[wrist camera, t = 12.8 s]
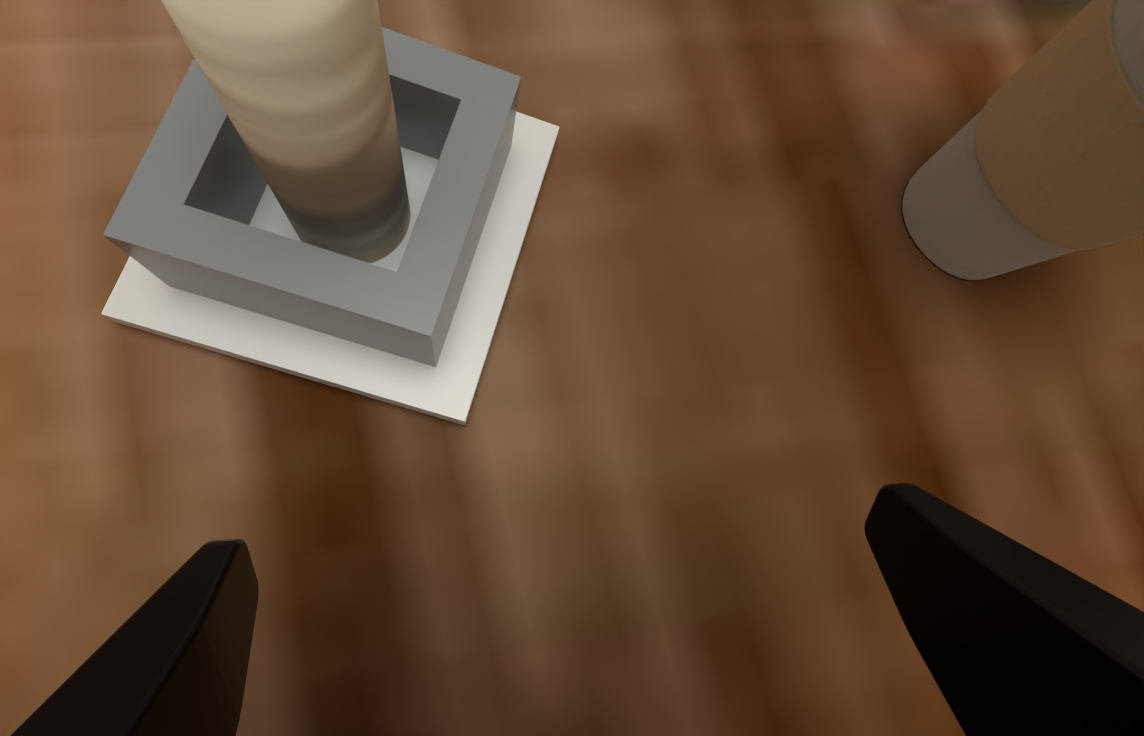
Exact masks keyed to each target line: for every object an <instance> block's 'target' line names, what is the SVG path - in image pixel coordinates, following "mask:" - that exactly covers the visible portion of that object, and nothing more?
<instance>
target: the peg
mask: <svg viewBox="0 0 1144 736" xmlns="http://www.w3.org/2000/svg"><path fill="white" fill-rule="evenodd" d="M161 1H162V3H163V4H164V6H165V8H166V9H167V11H168V13H169V15H170V16H171V18H172V20H173V21H174V23H175V25H176V27H177V28H178V30H179V32H180V34H181V35H182V37H183V39H184V40H185V42H186V44H187V46H188V47H189V49H190V51H191V52H192V54H193V56H194V58H195V59H196V61H197V63H198V65H199V66H200V68H201V70H202V71H203V73H204V75H205V77H206V78H207V80H208V82H209V83H210V85H211V87H212V89H213V90H214V92H215V94H216V96H217V97H218V99H219V101H220V102H221V104H222V106H223V108H224V109H225V111H226V113H227V114H228V116H229V118H230V120H231V121H232V123H233V125H234V127H235V128H236V130H237V132H238V133H239V135H240V137H241V139H242V140H243V142H244V144H245V145H246V147H247V149H248V151H249V152H250V154H251V156H252V158H253V159H254V161H255V163H256V164H257V166H258V168H259V170H260V171H261V173H262V175H263V176H264V178H265V180H266V182H267V183H268V185H269V187H270V189H271V190H272V192H273V194H274V195H275V197H276V199H277V201H278V202H279V204H280V206H281V207H282V209H283V211H284V213H285V214H286V216H287V218H288V219H289V221H290V223H291V225H292V226H293V228H294V230H295V232H296V233H297V235H298V237H299V238H300V240H301V241H302V242H303V243H307V244H310V245H313V246H316V247H319V248H322V249H325V250H329V251H332V252H335V253H338V254H341V255H344V256H348V257H351V258H354V259H357V260H360V261H363V262H366V263H373V262H375V261H378V260H380V259H382V258H384V257H386V256H387V255H389V254H390V253H391V252H393V251H394V250H395V249H396V248H397V247H398V246H399V244H400V243H401V242H402V240H403V239H404V237H405V235H406V233H407V231H408V228H409V224H410V204H409V198H408V192H407V185H406V179H405V173H404V166H403V160H402V153H401V147H400V141H399V134H398V128H397V122H396V115H395V109H394V103H393V96H392V90H391V84H390V77H389V71H388V65H387V58H386V52H385V46H384V39H383V33H382V27H381V20H380V14H379V8H378V1H377V0H161Z"/></svg>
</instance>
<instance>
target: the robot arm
mask: <svg viewBox="0 0 1144 736" xmlns="http://www.w3.org/2000/svg"><path fill="white" fill-rule="evenodd" d="M865 535H866V538H867V541H868V543H869V546H870V548H871V550H872V552H873V555H874V557H875V559H876V561H877V564H878V566H879V568H880V571H881V573H882V575H883V577H884V580H885V582H886V584H887V586H888V589H889V591H890V593H891V595H892V598H893V600H894V602H895V604H896V607H897V609H898V611H899V613H900V616H901V618H902V620H903V622H904V624H905V626H906V628H907V630H908V632H909V634H910V636H911V638H912V640H913V642H914V644H915V646H916V647H917V649H918V651H919V653H920V655H921V656H922V658H923V660H924V662H925V664H926V665H927V667H928V669H929V671H930V672H931V674H932V676H933V678H934V680H935V681H936V683H937V685H938V687H939V689H940V690H941V692H942V694H943V696H944V697H945V699H946V701H947V703H948V705H949V706H950V708H951V710H952V712H953V714H954V715H955V717H956V719H957V721H958V722H959V724H960V726H961V728H962V730H963V731H964V733H965V735H966V736H1144V612H1143V611H1141V610H1139V609H1137V608H1135V607H1134V606H1132V605H1130V604H1128V603H1126V602H1125V601H1123V600H1121V599H1119V598H1117V597H1116V596H1114V595H1112V594H1110V593H1108V592H1107V591H1105V590H1103V589H1101V588H1099V587H1098V586H1096V585H1094V584H1092V583H1090V582H1088V581H1087V580H1085V579H1083V578H1081V577H1079V576H1078V575H1076V574H1074V573H1072V572H1070V571H1069V570H1067V569H1065V568H1063V567H1061V566H1060V565H1058V564H1056V563H1054V562H1052V561H1051V560H1049V559H1047V558H1045V557H1043V556H1042V555H1040V554H1038V553H1036V552H1034V551H1033V550H1031V549H1029V548H1027V547H1025V546H1024V545H1022V544H1020V543H1018V542H1016V541H1015V540H1013V539H1011V538H1009V537H1007V536H1006V535H1004V534H1002V533H1000V532H998V531H997V530H995V529H993V528H991V527H989V526H988V525H986V524H984V523H982V522H980V521H979V520H977V519H975V518H973V517H971V516H970V515H968V514H966V513H964V512H962V511H961V510H959V509H957V508H955V507H953V506H952V505H950V504H948V503H946V502H944V501H943V500H941V499H939V498H937V497H935V496H934V495H932V494H930V493H928V492H926V491H925V490H923V489H921V488H919V487H917V486H915V485H913V484H910V483H899V484H887V485H884V486H883V487H882V488H881V489H880V490H879V492H878V494H877V496H876V498H875V501H874V503H873V505H872V507H871V510H870V512H869V514H868V517H867V519H866V522H865ZM257 603H258V581H257V577H256V574H255V571H254V567H253V564H252V561H251V557H250V554H249V551H248V547H247V545H246V543H245V542H244V541H243V540H242V539H227V540H215V541H210V542H207V543H206V544H204V545H203V546H202V547H201V548H200V549H199V550H198V551H197V552H196V553H195V554H194V555H193V556H192V557H190V558H189V559H188V560H187V561H186V562H185V563H184V564H183V565H182V566H181V567H180V568H179V569H178V570H177V571H176V572H175V573H174V574H173V575H172V576H171V577H170V578H169V579H168V580H167V581H166V582H165V583H164V584H163V585H162V586H161V587H160V588H159V589H158V590H157V591H156V592H155V593H154V594H153V595H152V596H151V597H150V598H149V599H148V600H147V601H146V602H145V603H144V604H143V605H142V606H141V607H140V608H139V609H138V610H137V611H136V612H135V613H134V614H133V615H132V616H131V617H130V618H129V619H128V620H127V621H126V622H125V623H124V624H123V625H122V626H121V627H120V628H119V629H118V630H117V631H116V632H115V633H114V634H113V635H112V636H111V637H110V638H109V639H108V640H107V641H106V642H105V643H104V644H103V645H102V646H101V647H100V648H98V649H97V650H96V651H95V652H94V653H93V654H92V655H91V656H90V657H89V658H88V659H87V660H86V661H85V662H84V663H83V664H82V665H81V666H80V667H79V668H78V669H77V670H76V671H75V672H74V673H73V674H72V675H71V676H70V677H69V678H68V679H67V680H66V681H65V682H64V683H63V684H62V685H61V686H60V687H59V688H58V689H57V690H56V691H55V692H54V693H53V694H52V695H51V696H50V697H49V698H48V699H47V700H46V701H45V702H44V703H43V704H42V705H41V706H40V707H39V708H38V709H37V710H36V711H35V712H34V713H33V714H32V715H31V716H30V717H29V718H28V719H27V720H26V721H25V722H24V723H23V724H22V725H21V726H20V727H19V728H18V729H17V730H16V731H15V732H14V733H13V734H12V735H11V736H236V731H237V727H238V723H239V719H240V713H241V707H242V701H243V695H244V688H245V682H246V675H247V669H248V662H249V655H250V649H251V642H252V636H253V629H254V622H255V616H256V609H257Z"/></svg>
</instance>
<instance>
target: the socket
mask: <svg viewBox="0 0 1144 736" xmlns="http://www.w3.org/2000/svg"><path fill="white" fill-rule="evenodd" d="M382 33H383V39H384V46H385V52H386V58H387V65H388V71H389V77H390V84H391V90H392V96H393V103H394V109H395V115H396V122H397V128H398V134H399V141H400V147H401V153H402V160H403V166H404V173H405V179H406V185H407V192H408V198H409V204H410V224H409V228H408V231H407V233H406V235H405V237H404V239H403V240H402V242H401V243H400V244H399V246H398V247H397V248H396V249H395V250H394V251H393V252H391V253H390V254H389V255H387V256H386V257H384V258H382V259H380V260H378V261H375V262H373V263H366V262H363V261H360V260H357V259H354V258H351V257H348V256H344V255H341V254H338V253H335V252H332V251H329V250H325V249H322V248H319V247H316V246H313V245H310V244H307V243H303V242H302V241H301V240H300V238H299V237H298V235H297V233H296V232H295V230H294V228H293V226H292V225H291V223H290V221H289V219H288V218H287V216H286V214H285V213H284V211H283V209H282V207H281V206H280V204H279V202H278V201H277V199H276V197H275V195H274V194H273V192H272V190H271V189H270V187H269V185H268V183H267V182H266V180H265V178H264V176H263V175H262V173H261V171H260V170H259V168H258V166H257V164H256V163H255V161H254V159H253V158H252V156H251V154H250V152H249V151H248V149H247V147H246V145H245V144H244V142H243V140H242V139H241V137H240V135H239V133H238V132H237V130H236V128H235V127H234V125H233V123H232V121H231V120H230V118H229V116H228V114H227V113H226V111H225V109H224V108H223V106H222V104H221V102H220V101H219V99H218V97H217V96H216V94H215V92H214V90H213V89H212V87H211V85H210V83H209V82H208V80H207V78H206V77H205V75H204V73H203V71H202V70H201V68H200V66H199V65H198V63H197V61H196V59H195V58H194V60H193V62H192V63H191V65H190V67H189V69H188V71H187V73H186V75H185V77H184V79H183V81H182V83H181V85H180V87H179V89H178V91H177V92H176V94H175V96H174V98H173V100H172V102H171V104H170V106H169V108H168V110H167V112H166V114H165V116H164V118H163V120H162V122H161V123H160V125H159V127H158V129H157V131H156V133H155V135H154V137H153V139H152V141H151V143H150V145H149V147H148V149H147V151H146V152H145V154H144V156H143V158H142V160H141V162H140V164H139V166H138V168H137V170H136V172H135V174H134V176H133V178H132V180H131V181H130V183H129V185H128V187H127V189H126V191H125V193H124V195H123V197H122V199H121V201H120V203H119V205H118V207H117V209H116V211H115V212H114V214H113V216H112V218H111V220H110V222H109V224H108V226H107V228H106V230H105V232H104V234H103V235H104V236H105V237H106V238H108V239H109V240H110V241H111V242H113V243H114V244H115V245H117V246H118V247H119V248H120V249H122V250H123V251H124V252H126V253H127V254H128V255H129V256H130V257H129V259H128V261H127V263H126V265H125V267H124V269H123V271H122V273H121V275H120V277H119V279H118V281H117V283H116V285H115V287H114V289H113V291H112V293H111V295H110V297H109V299H108V301H107V303H106V305H105V307H104V309H103V311H102V313H101V314H102V315H104V316H106V317H108V318H110V319H111V320H113V321H115V322H117V323H120V324H123V325H126V326H130V327H133V328H136V329H140V330H143V331H147V332H150V333H153V334H157V335H160V336H164V337H167V338H170V339H174V340H177V341H180V342H184V343H187V344H191V345H194V346H197V347H201V348H204V349H208V350H211V351H214V352H218V353H221V354H224V355H228V356H231V357H235V358H238V359H241V360H245V361H248V362H252V363H255V364H258V365H262V366H265V367H268V368H272V369H275V370H279V371H282V372H285V373H289V374H292V375H295V376H299V377H302V378H306V379H309V380H312V381H316V382H319V383H323V384H326V385H329V386H333V387H336V388H339V389H343V390H346V391H350V392H353V393H356V394H360V395H363V396H367V397H370V398H373V399H377V400H380V401H383V402H387V403H390V404H394V405H397V406H400V407H404V408H407V409H411V410H414V411H417V412H421V413H424V414H427V415H431V416H434V417H438V418H441V419H444V420H448V421H451V422H455V423H458V424H461V425H465V423H466V420H467V417H468V414H469V411H470V408H471V405H472V402H473V398H474V395H475V392H476V389H477V386H478V383H479V380H480V377H481V373H482V370H483V367H484V364H485V361H486V358H487V355H488V351H489V348H490V345H491V342H492V339H493V336H494V333H495V330H496V326H497V323H498V320H499V317H500V314H501V311H502V308H503V305H504V301H505V298H506V295H507V292H508V289H509V286H510V283H511V280H512V276H513V273H514V270H515V267H516V264H517V261H518V258H519V255H520V251H521V248H522V245H523V242H524V239H525V236H526V233H527V229H528V226H529V223H530V220H531V217H532V214H533V211H534V208H535V204H536V201H537V198H538V195H539V192H540V189H541V186H542V183H543V179H544V176H545V173H546V170H547V167H548V164H549V161H550V158H551V154H552V151H553V148H554V145H555V142H556V138H557V134H558V131H559V127H558V126H556V125H553V124H550V123H547V122H544V121H541V120H539V119H536V118H533V117H530V116H527V115H524V114H521V113H519V112H516V110H517V103H518V96H519V89H520V82H521V76H518V75H515V74H512V73H509V72H507V71H504V70H501V69H498V68H495V67H493V66H490V65H487V64H484V63H481V62H479V61H476V60H473V59H470V58H467V57H465V56H462V55H459V54H456V53H453V52H451V51H448V50H445V49H442V48H439V47H437V46H434V45H431V44H428V43H425V42H423V41H420V40H417V39H414V38H412V37H409V36H406V35H403V34H400V33H398V32H395V31H392V30H389V29H386V28H384V27H382Z"/></svg>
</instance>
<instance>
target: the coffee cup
mask: <svg viewBox="0 0 1144 736" xmlns="http://www.w3.org/2000/svg"><path fill="white" fill-rule="evenodd" d="M902 212H903V216H904V221H905V224H906V227H907V229H908V231H909V234H910V236H911V237H912V239H913V240H914V242H915V244H916V245H917V247H918V248H919V249H920V250H921V251H922V252H923V254H924V255H925V256H926V257H927V258H928V259H929V260H931V261H932V262H933V263H934V264H935V265H936V266H938V267H939V268H941V269H942V270H944V271H945V272H947V273H949V274H951V275H953V276H956V277H958V278H962V279H966V280H984V279H987V278H991V277H994V276H997V275H1000V274H1004V273H1007V272H1010V271H1013V270H1017V269H1020V268H1023V267H1026V266H1030V265H1033V264H1036V263H1039V262H1043V261H1046V260H1049V259H1052V258H1056V257H1059V256H1062V255H1065V254H1069V253H1072V252H1075V251H1084V250H1095V249H1098V248H1101V247H1105V246H1108V245H1111V244H1115V243H1118V242H1121V241H1124V240H1128V239H1131V238H1134V237H1137V236H1141V235H1144V0H1092V1H1091V2H1090V3H1089V4H1087V5H1086V6H1085V7H1084V8H1083V9H1082V10H1081V11H1080V12H1079V13H1078V14H1077V15H1076V16H1075V17H1074V18H1073V19H1072V20H1071V21H1069V22H1068V23H1067V24H1066V25H1065V26H1064V27H1063V28H1062V29H1061V30H1060V31H1059V32H1058V33H1057V34H1056V35H1055V36H1054V37H1053V38H1052V39H1050V40H1049V41H1048V42H1047V43H1046V44H1045V45H1044V46H1043V47H1042V48H1041V49H1040V50H1039V51H1038V52H1037V53H1036V54H1035V55H1034V56H1032V57H1031V58H1030V59H1029V60H1028V61H1027V62H1026V63H1025V64H1024V65H1023V66H1022V67H1021V68H1020V69H1019V70H1018V71H1017V72H1016V73H1014V74H1013V75H1012V76H1011V77H1010V78H1009V79H1008V80H1007V81H1006V82H1005V83H1004V84H1003V85H1002V86H1001V87H1000V88H999V89H998V90H996V91H995V93H994V94H993V95H992V96H991V97H990V99H989V100H988V101H987V102H986V104H985V105H984V107H983V109H982V110H981V111H980V112H979V113H978V114H977V115H976V116H974V117H973V118H972V119H971V120H970V121H969V122H968V123H967V124H966V125H965V126H964V127H963V128H962V129H961V130H960V131H959V132H958V133H956V134H955V135H954V136H953V137H952V138H951V139H950V140H949V141H948V142H947V143H946V144H945V145H944V146H943V147H942V148H941V149H939V150H938V151H937V152H936V153H935V154H934V155H933V156H932V157H931V158H930V159H929V160H928V161H927V162H926V163H925V164H924V165H922V166H921V167H920V168H919V169H918V170H917V172H916V173H915V174H914V175H913V177H912V178H911V179H910V181H909V183H908V185H907V187H906V189H905V192H904V196H903V208H902Z"/></svg>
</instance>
